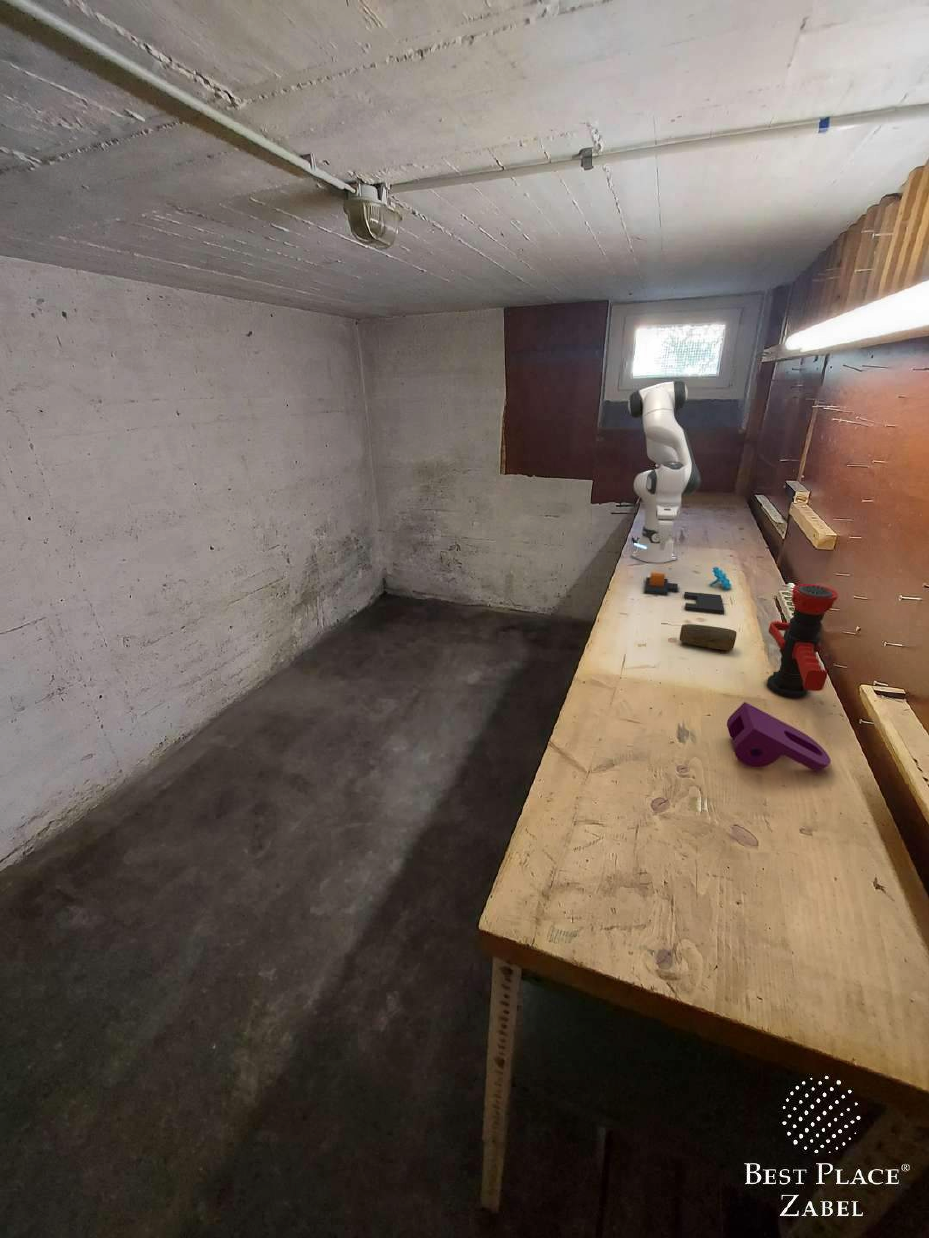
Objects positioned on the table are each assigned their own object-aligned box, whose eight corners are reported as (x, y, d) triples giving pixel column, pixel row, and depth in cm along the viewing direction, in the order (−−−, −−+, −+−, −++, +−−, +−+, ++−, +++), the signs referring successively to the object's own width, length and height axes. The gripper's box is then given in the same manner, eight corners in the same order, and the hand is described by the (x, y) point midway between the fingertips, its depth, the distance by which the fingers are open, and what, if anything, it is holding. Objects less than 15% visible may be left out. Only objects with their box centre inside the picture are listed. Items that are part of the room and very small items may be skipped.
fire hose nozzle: (809, 613, 101) (780, 572, 123) (778, 718, 114) (756, 664, 135) (864, 617, 99) (825, 575, 120) (826, 725, 111) (796, 669, 132)
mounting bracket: (792, 766, 107) (719, 726, 109) (821, 742, 103) (744, 701, 104) (806, 797, 99) (726, 754, 101) (837, 772, 95) (754, 728, 96)
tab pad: (645, 580, 194) (647, 567, 192) (676, 583, 191) (679, 570, 188) (644, 593, 183) (646, 580, 180) (677, 596, 179) (679, 582, 176)
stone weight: (733, 644, 145) (737, 625, 142) (733, 655, 140) (738, 635, 137) (679, 636, 151) (682, 617, 148) (677, 646, 146) (681, 627, 143)
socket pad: (684, 595, 180) (684, 591, 179) (720, 598, 176) (720, 594, 175) (685, 610, 168) (685, 606, 167) (723, 614, 164) (724, 610, 163)
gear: (729, 590, 178) (713, 567, 180) (715, 598, 182) (699, 576, 184) (735, 584, 186) (720, 563, 188) (721, 592, 190) (706, 571, 192)
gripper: (658, 502, 184) (653, 537, 190) (657, 515, 167) (652, 553, 173) (676, 503, 181) (671, 538, 187) (676, 516, 164) (671, 554, 170)
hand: (661, 546), depth 180 cm, fingers open, 8 cm apart
